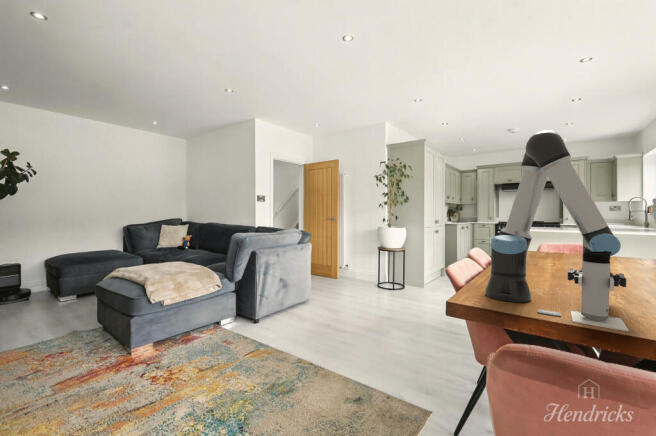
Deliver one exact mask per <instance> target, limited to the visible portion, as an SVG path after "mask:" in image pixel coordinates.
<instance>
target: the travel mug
mask: <svg viewBox="0 0 656 436" xmlns="http://www.w3.org/2000/svg"><path fill="white" fill-rule="evenodd" d="M610 254H611V252H609V251H604V252H598V251H596V252H584V253H583V252H582V255H583V268H582V267H581V270H582V286H581V300H580V301H581V303H580V304H581V305H580V312H581V314H582V315H583V316H585V317H588V318H592V319H597V320H607V319H608V316H609V313H610V312H609V310H610V309H609V307H610V273H611V256H610Z"/></svg>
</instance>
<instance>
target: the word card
mask: <svg viewBox="0 0 656 436" xmlns="http://www.w3.org/2000/svg"><path fill="white" fill-rule="evenodd" d="M537 314H541V315H545V316H551V317H552V316H553V317H558V318H561V317H562V314H561V311H560V312H559V311H554V310H547V309H540V308H537Z"/></svg>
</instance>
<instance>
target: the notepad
mask: <svg viewBox="0 0 656 436" xmlns="http://www.w3.org/2000/svg"><path fill="white" fill-rule="evenodd" d="M570 313H571V320H572V322H573V323H578V324H583V325H589V326H596V327H601V328H604V329H605V328H606V329H612V330H616V331H624V332H629V331H630V330H629V328H628V327H627V325H626V324H625V322H624V321H623V319H622V318H621V317H615V316H609V315H608V319H607V320H597V319H592V318H588V317H585V316H583V315H582V314H581V311H577V310H570Z"/></svg>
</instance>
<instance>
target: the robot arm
mask: <svg viewBox="0 0 656 436" xmlns="http://www.w3.org/2000/svg"><path fill="white" fill-rule="evenodd" d="M571 158H572V155H571V154H570V152H569V150H568V148H567V147H566V144H565V142H564V140H563V137H562V136H561V135H560V134H558V133H557V132H555V131H553V130H541V131H537V133H534V134H532V136H530V137H529V139H528V140H527V142H526V145H525V152H524V155H523V159H522V162H521V165H520V168H521V169H522V171H523V172H522V175H521V178H520V182H519V184H518V187H517V191H516V194H515V197H514V200H513V202H512V203H513V204H512V206H511V209H510V213H509V216H508V219H507V222H506V226H505V227H503V228H502V229H500V231H499V233H498V234H499V235H495V236H493V237H492V238H491V243H490V247H491V251H490V253H491V254H490V255H491V256H490V258H491V259H490V276H489V279H488V281H487V282H488V283H487V285H486V287H485V292H484V293H485V295H486V296H487V297H488V298H491V299H494V300H499V301H503V302H511V303H528V302H531V301H532V293H531V291H530V288H529V284H528V281H527V255H528V251H529V248H530V245H531V242H532V239H533V237H532V236H531V234H530V231H531V228H532V225H533V222H534V218H535V216H536V213H537V210H538V208H539V204H540V201H541V198H542V196H543V192H544V189H545V187H546V184H547V180H548V179H549V181H550V182H551V184H552V185H553V188H554V189H555V190H556V192H557V195H558V196H559V198H560V200H561V201H562V203H563V205H564V207H565V208H566V210H567V211H568V214H569V215H570V216H571V218H572V220H573V222H574V224H575V226H576V227H577V229H578V231H579V233H580V234H581V236H582V254H581V255H582V257H581V259H582V261H581V269H579V270H577V269H574V268H569V271H568V272H567V280H568V281H574V284H575V285H577V286H578V287H582V268H583V253H584V252H596V251H598V252H604V251H609V252H611V254H610V257H612V256H615V255H617V254H618V253H619V252H620V250H621V248H622V244H621V241H620V240H619V239H618V237H617V236H615V235H614V233H613V232H612V230H611V228H610V227H609V225H608V223H607V221H606V220H605V218H604V216H603V215H602V212H601V211H600V210H599V208H598V206H597V204H596V203H595V201H594V200H593V197H592V196H591V195H590V193H589V192H588V190H587V188H586V186H585V185H584V182H583V181H582V179H581V178H580V176H579V174H578V173H577V171H576V170H575V168H574V166H573V164H572V163H571ZM619 286H620V287H622V288H627V277H625V274H624V273H615V274H613V273H612V272H610V287H609V291H615V289H614V288H615V287H617V288H618V287H619Z"/></svg>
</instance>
